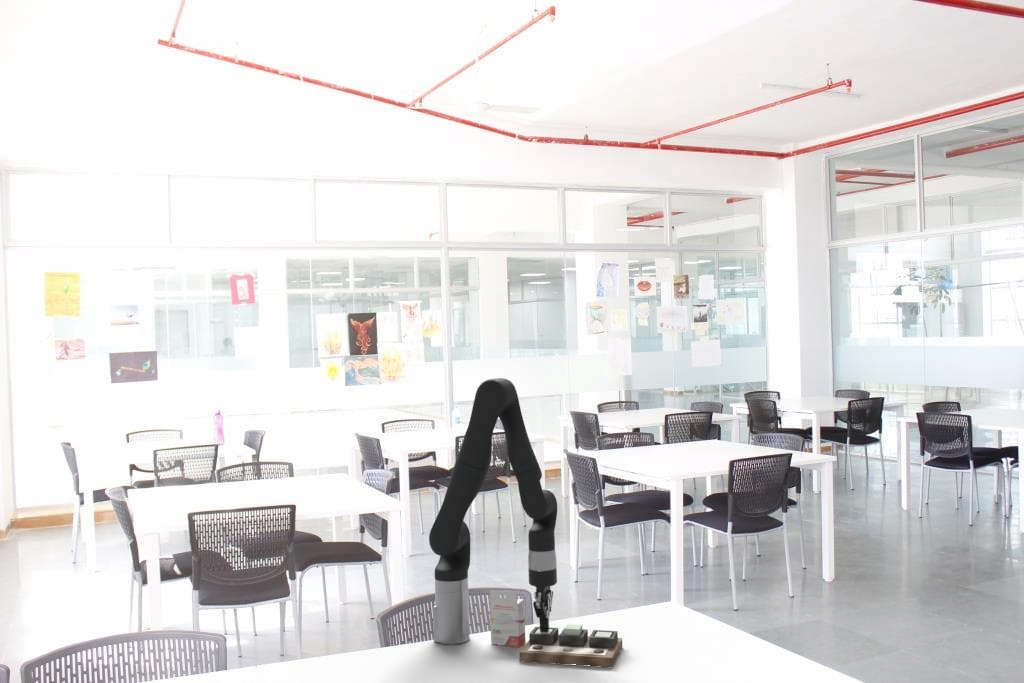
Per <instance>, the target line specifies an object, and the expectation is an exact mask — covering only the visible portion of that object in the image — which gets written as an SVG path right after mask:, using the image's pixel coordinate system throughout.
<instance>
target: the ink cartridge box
mask: <svg viewBox="0 0 1024 683" xmlns="http://www.w3.org/2000/svg"><path fill="white" fill-rule="evenodd" d="M489 595H490V597H489V598H490V599H489V600H490V601H489V610H490V611H489V612H490V613H489V615H490V617H489V618H490V643H491V645H493V644H497V645H496V646H504V645H508V646H507V647H514V646H517V647H519V648H520V647H521V646H522V645H523V644H526V643H527V642H526V640H527V639H526V621H525V620H526V618H525V616H526V615H525V600H524V599H520V598H519V599H518V591H517V592H516V591H508V590H507V591H505V590H490V594H489ZM503 595H504V596H506V597H500V596H503ZM517 647H516V648H517Z"/></svg>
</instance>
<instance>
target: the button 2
mask: <svg viewBox="0 0 1024 683" xmlns="http://www.w3.org/2000/svg"><path fill="white" fill-rule="evenodd" d="M594 637H610V638H611V637H612V632H597V633H596V635H595V636H594Z"/></svg>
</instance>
